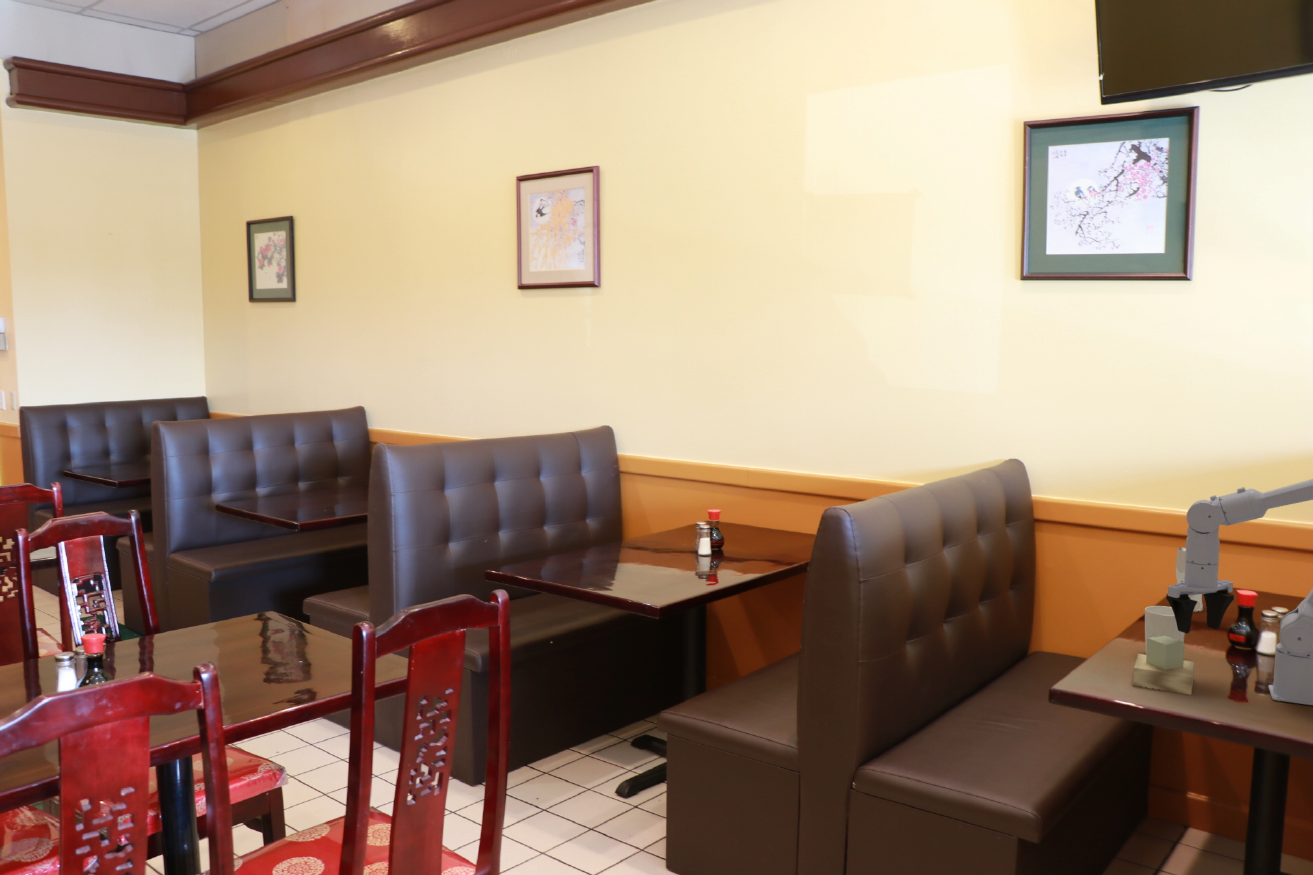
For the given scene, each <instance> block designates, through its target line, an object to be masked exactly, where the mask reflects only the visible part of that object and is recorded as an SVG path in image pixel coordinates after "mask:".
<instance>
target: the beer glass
mask: <svg viewBox="0 0 1313 875" xmlns="http://www.w3.org/2000/svg"><path fill="white" fill-rule="evenodd" d="M1185 556H1186V546H1185V547H1184V546H1183V547H1178V548H1177V552H1176V559H1175V576H1176V577H1175V578H1176V584H1178V583H1181V580H1184V578H1185ZM1189 597H1190V599H1192V600H1195V601H1197V604H1196V606H1195V608H1194V611H1193V613H1196V612H1198V611H1199V612H1202V611H1203V610H1204V606H1203V599H1202V598H1203V594H1196V595H1189Z"/></svg>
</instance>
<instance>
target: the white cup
mask: <svg viewBox="0 0 1313 875" xmlns="http://www.w3.org/2000/svg"><path fill="white" fill-rule="evenodd" d="M1185 634H1186V633H1183V632H1180V631H1178V628H1177V623H1176V619H1175V616H1174V612H1173V610H1172V608H1171V606H1165V605H1164V606H1163V605H1152V606H1151V605H1150V606H1146V607H1145V608H1144V642H1145V655H1146V654H1147V638H1151V637H1159V636H1168V637H1171V638H1174V639H1176V640H1179V641H1182V642H1184V640H1185Z"/></svg>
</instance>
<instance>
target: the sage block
mask: <svg viewBox="0 0 1313 875" xmlns="http://www.w3.org/2000/svg"><path fill="white" fill-rule="evenodd" d="M1145 655H1146V663H1148V664H1151V665H1153V666H1156V667H1159V668H1161V669H1164V670H1168V669H1175V668H1182V667H1183V664H1184V660H1185V659H1184V658H1185V642H1182V641H1179V640H1176V639H1174V638H1171V637H1168V636H1159V637H1151V638H1147V654H1146V653H1145Z"/></svg>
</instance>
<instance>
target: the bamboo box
mask: <svg viewBox="0 0 1313 875" xmlns="http://www.w3.org/2000/svg"><path fill="white" fill-rule="evenodd" d="M1194 672H1195V662H1194V661H1191V660H1185V659H1184V664H1183V667H1182V668H1175V669H1168V670H1164V669H1161V668H1159V667H1156V666H1153V665H1151V664H1148V663H1146V654H1143V653H1137V656H1136V660H1135V663H1134V666H1133V677H1132V678H1133V680H1132V681H1133V682H1132V685H1134V687H1139V686H1142V687H1141V688H1145V687H1147V688H1146V689H1152V688H1154V689H1153V690H1158V689H1160V691H1164V692H1170V691H1171V692H1172V693H1178V694H1185V695H1190V696H1191V695H1192V693H1193V692H1192V691H1193V685H1194V683H1193V682H1194Z"/></svg>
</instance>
